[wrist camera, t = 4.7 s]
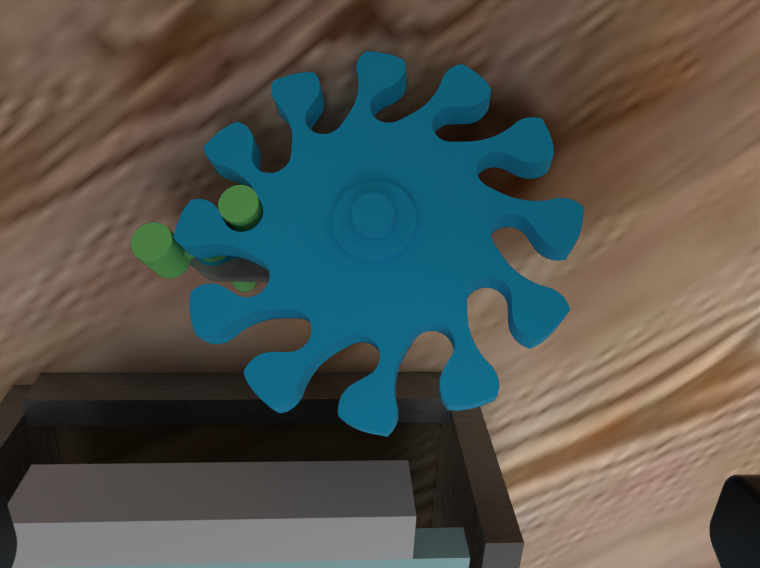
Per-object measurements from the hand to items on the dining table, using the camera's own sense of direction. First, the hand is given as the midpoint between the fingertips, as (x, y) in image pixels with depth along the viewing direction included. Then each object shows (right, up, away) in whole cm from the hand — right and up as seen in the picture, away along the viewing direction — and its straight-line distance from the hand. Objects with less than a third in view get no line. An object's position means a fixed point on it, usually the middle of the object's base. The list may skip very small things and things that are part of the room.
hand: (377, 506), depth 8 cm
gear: (-1, +6, +12) cm, 13 cm away
